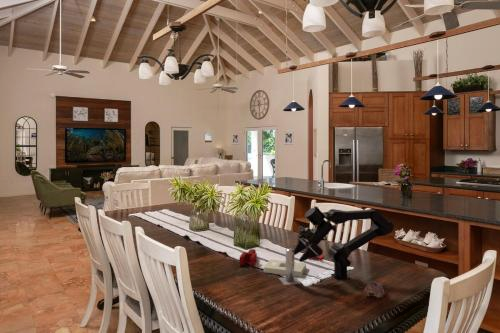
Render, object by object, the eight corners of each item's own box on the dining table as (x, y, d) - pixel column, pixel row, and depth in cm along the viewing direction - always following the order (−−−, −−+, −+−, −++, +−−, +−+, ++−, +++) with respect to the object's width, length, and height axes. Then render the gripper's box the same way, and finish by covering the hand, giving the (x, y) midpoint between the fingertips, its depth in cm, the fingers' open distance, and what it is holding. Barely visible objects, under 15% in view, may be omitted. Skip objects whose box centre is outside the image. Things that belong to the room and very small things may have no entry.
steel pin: (295, 281, 155) (295, 250, 154) (287, 282, 154) (287, 251, 154) (292, 278, 159) (292, 248, 158) (284, 279, 158) (284, 248, 157)
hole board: (305, 268, 173) (305, 263, 172) (301, 277, 161) (301, 271, 161) (270, 264, 178) (270, 259, 178) (263, 272, 167) (263, 267, 167)
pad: (301, 283, 154) (301, 283, 154) (284, 285, 152) (284, 284, 152) (295, 276, 162) (295, 276, 162) (278, 278, 160) (278, 278, 160)
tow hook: (307, 255, 195) (307, 259, 186) (307, 231, 194) (307, 235, 185) (322, 255, 193) (323, 260, 184) (323, 232, 193) (324, 236, 184)
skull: (374, 288, 149) (374, 274, 148) (391, 294, 143) (392, 279, 143) (359, 297, 141) (360, 282, 140) (378, 303, 135) (378, 287, 135)
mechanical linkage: (253, 267, 174) (253, 257, 174) (239, 266, 176) (239, 256, 175) (259, 257, 190) (259, 248, 189) (247, 256, 191) (247, 247, 191)
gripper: (301, 215, 166) (278, 240, 164) (316, 224, 147) (290, 252, 146) (317, 231, 168) (294, 255, 166) (333, 242, 149) (308, 269, 148)
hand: (296, 257), depth 157 cm, fingers open, 9 cm apart
